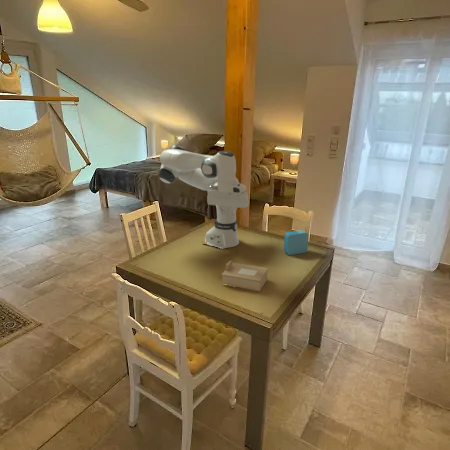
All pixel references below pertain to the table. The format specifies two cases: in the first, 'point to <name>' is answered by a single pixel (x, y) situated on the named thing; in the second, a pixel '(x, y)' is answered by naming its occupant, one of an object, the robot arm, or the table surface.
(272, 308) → the table surface
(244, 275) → the lid
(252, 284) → the box
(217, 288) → the table surface
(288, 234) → the data package
